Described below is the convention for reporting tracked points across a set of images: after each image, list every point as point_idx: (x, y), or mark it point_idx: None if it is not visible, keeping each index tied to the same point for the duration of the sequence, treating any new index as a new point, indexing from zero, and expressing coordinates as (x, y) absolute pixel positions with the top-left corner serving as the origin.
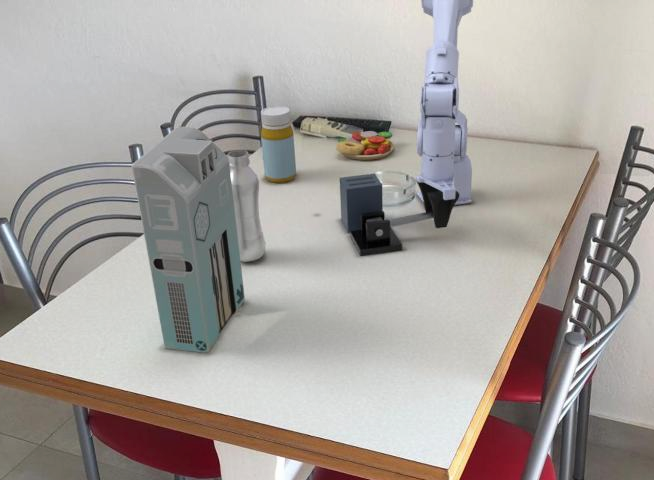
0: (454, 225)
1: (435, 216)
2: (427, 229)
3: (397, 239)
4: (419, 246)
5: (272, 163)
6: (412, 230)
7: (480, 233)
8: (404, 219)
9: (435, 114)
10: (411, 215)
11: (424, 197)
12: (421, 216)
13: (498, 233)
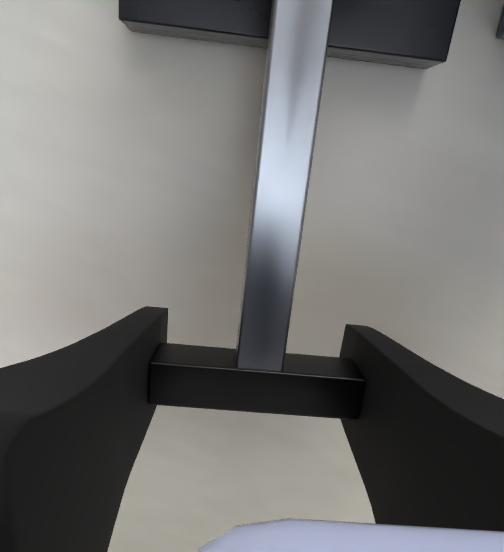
0: (319, 423)
1: (89, 338)
2: (340, 293)
3: (207, 17)
4: (151, 165)
5: None
6: (369, 211)
7: (190, 484)
8: (266, 89)
9: None
10: (299, 180)
11: (416, 389)
12: (248, 255)
13: (163, 539)
